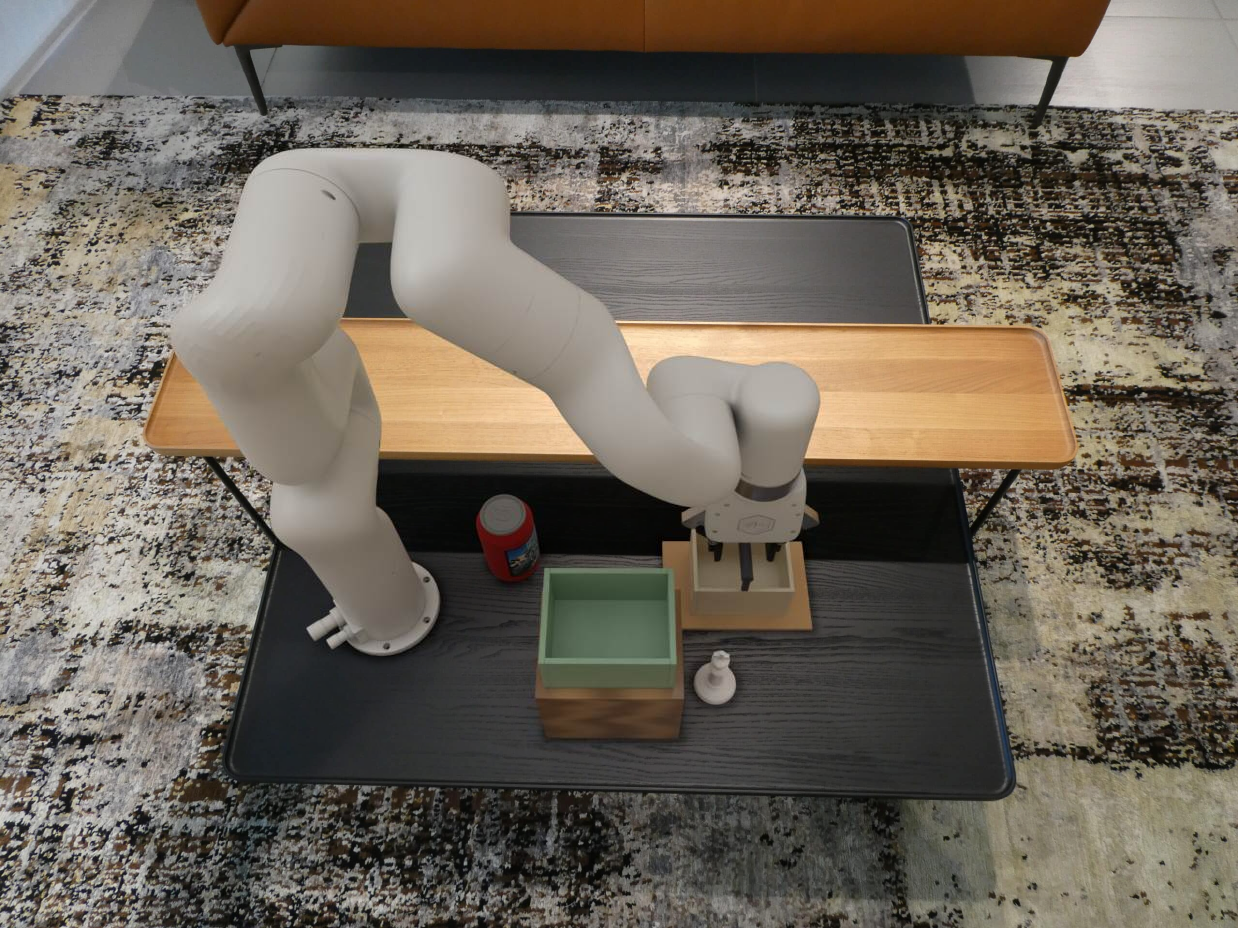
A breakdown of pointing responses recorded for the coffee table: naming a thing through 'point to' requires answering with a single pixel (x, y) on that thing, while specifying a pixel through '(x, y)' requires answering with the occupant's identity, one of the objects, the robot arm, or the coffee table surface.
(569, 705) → the wooden block
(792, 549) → the cork mat
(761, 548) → the cream bin
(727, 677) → the chess piece
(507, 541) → the beverage can
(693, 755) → the coffee table surface
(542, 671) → the green bin
